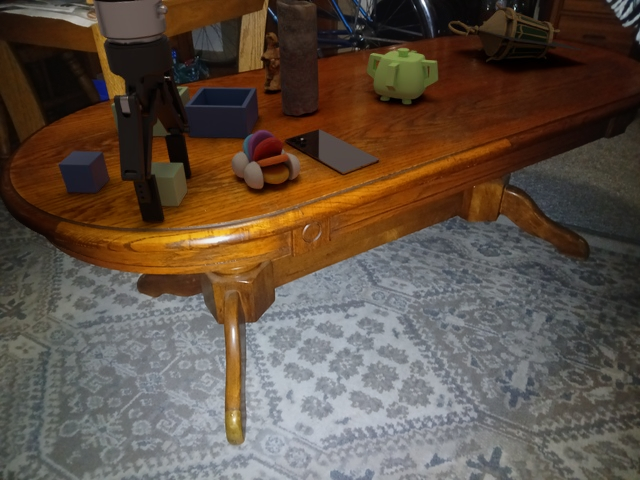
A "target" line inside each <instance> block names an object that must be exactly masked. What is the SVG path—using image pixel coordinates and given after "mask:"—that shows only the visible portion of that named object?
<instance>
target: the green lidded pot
mask: <svg viewBox="0 0 640 480" xmlns="http://www.w3.org/2000/svg"><path fill="white" fill-rule="evenodd" d="M377 61H379V62H378V64H377ZM428 67H429V68H428ZM366 73H367V75H369V76H370V77H371V78H372V79H373V89H374V92H375V94H377V95H379V96H381V97H380V98H379V100H380V101H384V102H386V101H390V99H391V98H393V99H401V103H402V104H403V105H411V104H412V100H415V99H418V98H419V97H420V96H422V95H423V93H424V92H425V90H426V89H427V87H429V86H431V85H432V84H434V83H436V82H438V81H439V71H438V60H433V59H431V60H430V59H426V56H425V55H424V54H421V53H418V51H417V50H410V49H409V48H406V47H400V48H398V49H397V50H392V51H388V52H387V53H385V54H380V53H376V52H372V53H371V54H369V58H368V62H367V66H366Z"/></svg>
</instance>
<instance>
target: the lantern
mask: <svg viewBox="0 0 640 480" xmlns="http://www.w3.org/2000/svg"><path fill="white" fill-rule="evenodd" d="M495 5H496V8H498V10H496V11H495V13H494V14H493V15H491V16H490V17H489V19H487V20H486V21H483V22H482V23H483V24H482V25H480V26H478V25H475V26H474V25H469V24H465V23H463V22H461V21H460V20H457V21H456V20H452V21H450V22H449V23H448V28H449V30H450V31H451V32H453V33H454V34H458V35H460V36H464V37H468V35H469V33H472V34H473V36H478V38H479V39H480V42H481V44H482V47H480V48H478V51H484V52H485V55H487V56H488V57H489V58H487V59H486V60H485V62H486V63H487V62H489V61H491V60H493V61H496V62H497V61H502V60H506V59H524V58H525V59H526V58H527V59H528V58H534V59H538V60H539V59H544V60H547V56H546V54H547V53H548V51H550V50H557V47H558V48H562V49H563V48H564V49H571V50H577V51H585V52H587V50H586V49H582V48H578V47H575V46H571V45H567V44H564V43H559V42H556V41H553V39H554V34H557V33H560V32H561V30H560V29H555V28H554V27H553V26H554V23H551V22H549V21H540V20H537V19H535V18H533V17H530V16H527V15H525V14H521V13H519V12H516V11H515V9H514V8H512V7H507V6H505V7H503V6H501V5H500V4H499V3H498V2H496V3H495ZM452 25H458V26H460V27H463V29H465V30H466V32H465V31H461V30H458V29H455V28H454V27H453V26H452Z"/></svg>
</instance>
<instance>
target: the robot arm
mask: <svg viewBox="0 0 640 480" xmlns="http://www.w3.org/2000/svg"><path fill="white" fill-rule="evenodd" d="M163 3H164V2H163V0H92V4H93V8H94V11H95V16H96V20H97V24H98V30H99V33H100V36H102V37H103V38H104V39H105V41H104V43H103V49H104V52H105V57H106V61H107V65H108V69H109V71H110V72H111V74H113V75H115V76H119V78H122V79H123V81H124V92H125V93H124V94H125V95H124V94H115V95H113V103H114V105H115V109H116V114H117V122H118V132H117V136H118V137H117V139H118V151H119V153H118V154H119V167H120V179H121V181H122V182H132V183H133V187H134V191H135V195H136V200H137V203H138V208H139V211H140V215H141V219H142V220H141V221H142V222H157V223H158V222H161V223H162V222H164V221H165V219H166V218H165V214H164V209H163V206H162V204H161V199H160V195H159V190H158V186H157V181H156V176H155V174H151V167H152V162H153V144H154V143H153V142H154V136H153V126H154V125H155V124H157V120H158V119H159V121H160V122H161V124H162V125H163V127H164V128H165V130H166V132H167V133H170V134H171V135H166V136H164V140H165V145H166V150H167V154H168V160H169V163H183V166H184V172H185V178H191V177H192V170H191V164H190V158H189V152H188V147H187V140H186V136H185V134H189V133H190V126H188V125H187V124H188V117H187V115H186V112H185V109H184V106H183V103H182V100H181V97H180V94H179V92H178V89H177V87H178V86H177V83H176V81H175V80H176V79H175V75H174V71H173V66H174V58H173V53H172V47H171V40H170V38H169V37H168V36H167V35H166V33H165V32H166V31H167V29H168V26H167V22H166V15H167V14H168V11H169V9H168V7H167V5H165V4H163ZM179 115H180V116H179ZM184 124H185V126H184Z"/></svg>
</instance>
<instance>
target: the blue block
mask: <svg viewBox="0 0 640 480" xmlns="http://www.w3.org/2000/svg"><path fill="white" fill-rule="evenodd" d="M58 168H59V170H60V174H61V177H62V180H63V183H64V185H65V186H64V187H65V190H66V192H67V193H79V194H98V193H99V192H100V191H101V189H103V187H104V186H105V185H106V184H107V183H108V181H110V179H111V178H110V175H109V171H108V166H107V163H106V159H105V155H104V152H103V151H85V150H84V151H83V150H82V151H81V150H73V151H72V152H71V153H69V155H67V156H66V157H65V158H64V159H63V160H61V161H60V162H59V163H58Z"/></svg>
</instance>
